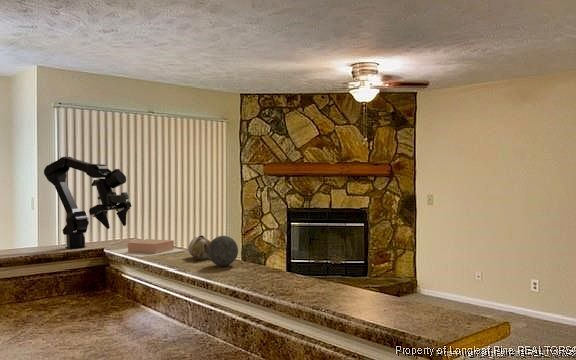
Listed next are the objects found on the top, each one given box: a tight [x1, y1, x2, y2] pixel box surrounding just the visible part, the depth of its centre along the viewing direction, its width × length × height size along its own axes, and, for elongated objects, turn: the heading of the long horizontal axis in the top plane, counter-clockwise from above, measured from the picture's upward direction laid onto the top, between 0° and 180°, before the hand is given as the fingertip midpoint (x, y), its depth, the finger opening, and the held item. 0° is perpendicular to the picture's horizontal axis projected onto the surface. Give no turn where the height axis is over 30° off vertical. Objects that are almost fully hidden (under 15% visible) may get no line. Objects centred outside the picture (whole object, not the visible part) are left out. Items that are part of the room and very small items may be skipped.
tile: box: [127, 238, 175, 254], centre depth 206 cm, size 4×11×14 cm
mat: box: [109, 247, 187, 258], centre depth 208 cm, size 20×26×1 cm
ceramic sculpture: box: [187, 235, 212, 260], centre depth 189 cm, size 11×9×15 cm
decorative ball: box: [208, 235, 239, 267], centre depth 172 cm, size 10×10×10 cm
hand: (116, 227), depth 216 cm, fingers open, 9 cm apart
